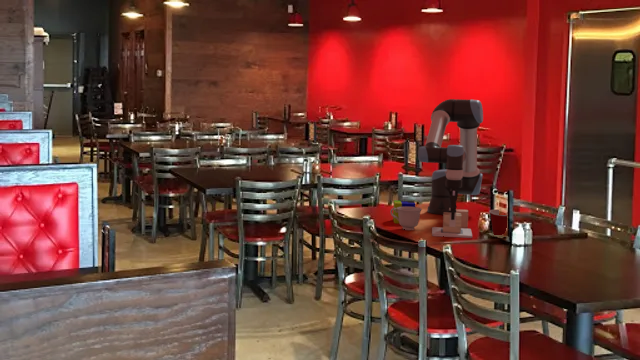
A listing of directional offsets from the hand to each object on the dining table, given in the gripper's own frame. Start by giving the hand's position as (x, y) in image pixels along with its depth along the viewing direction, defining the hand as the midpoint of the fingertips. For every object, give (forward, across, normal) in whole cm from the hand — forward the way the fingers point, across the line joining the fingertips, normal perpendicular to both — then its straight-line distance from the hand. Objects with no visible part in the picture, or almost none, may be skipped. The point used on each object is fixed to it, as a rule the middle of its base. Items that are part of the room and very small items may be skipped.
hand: (452, 224), depth 376 cm
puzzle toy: (+5, -26, -23) cm, 35 cm away
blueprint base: (+4, 0, 0) cm, 4 cm away
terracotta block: (+4, -20, +5) cm, 21 cm away
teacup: (+4, -6, -22) cm, 23 cm away
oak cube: (+3, 0, 0) cm, 3 cm away
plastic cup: (+4, +4, +22) cm, 23 cm away
